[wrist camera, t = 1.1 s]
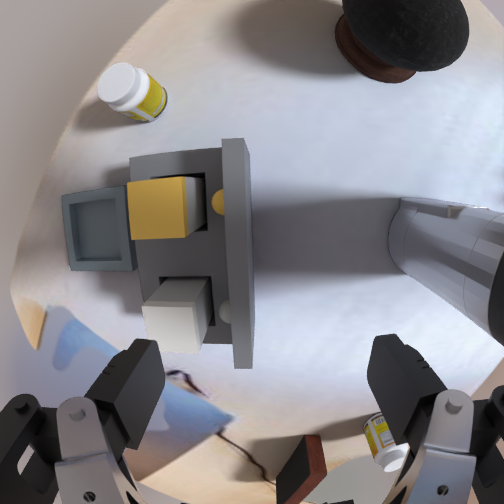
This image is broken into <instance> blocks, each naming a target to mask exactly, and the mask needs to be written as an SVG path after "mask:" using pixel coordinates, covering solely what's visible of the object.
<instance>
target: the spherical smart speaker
mask: <svg viewBox="0 0 504 504" xmlns="http://www.w3.org/2000/svg"><path fill="white" fill-rule="evenodd" d="M342 4H343V11H344V14H343V15H342V16H341V17H340V19H339V21H338V23H337V25H336V27H335V39H336V42H337V45H338V48H339V49H340V51H341V53H342V54H343V56H344V57H345V58H346V59H347V61H348V62H349V63H350V64H351V65H352V66H353V67H355V68H356V69H357V70H359V71H360V72H361V73H363V74H365V75H366V76H368V77H370V78H372V79H375V80H377V81H380V82H385V83H401V82H404V81H406V80H408V79H409V78H411V77H412V76H413V75H414V74H415V73H416V71H418V72H424V71H436V70H439V69H441V68H444V67H447V66H449V65H451V64H452V63H453V62H455V61H456V60H457V59H458V58H459V57H460V56H461V55H462V53H463V51H464V50H465V48H466V46H467V42H468V38H469V22H468V17H467V14H466V11H465V9H464V6H463V4H462V2H461V1H460V0H342Z"/></svg>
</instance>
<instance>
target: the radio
mask: <svg viewBox="0 0 504 504" xmlns="http://www.w3.org/2000/svg"><path fill="white" fill-rule="evenodd" d="M326 475H327V469H326V464H325V458H324V453H323V448H322V443H321V438H320V436H315V435H304V436H303V438H302V440H301V441H300V443H299V444H298V446H297V448H296V449H295V451H294V452H293V454H292V455H291V457H290V458H289V460H288V461H287V463H286V464H285V466H284V467H283V469H282V470H281V472H280V473H279V475H278V476H277V477H276V498H277V504H299V503H300V502H301V501H302V500H303V499H304V498H305V497H306V496H307V495H308V494H309V493H310V492H311V491H312V490H313V489H314V488H315V487H316V486H317V485H318V484H319V483H320V482H321V481H322V480H323V479H324V478H325V477H326ZM323 504H327V502H325V503H323Z"/></svg>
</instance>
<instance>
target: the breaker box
mask: <svg viewBox="0 0 504 504" xmlns="http://www.w3.org/2000/svg"><path fill="white" fill-rule="evenodd" d="M191 176H205V178H206V201H207V220H208V222H206V223H205V224H204V225H202V226H201V227H199V228H198V229H196V230H195V231H194V232H192V233H191V234H189V235H188V236H187V237H185V238H163V239H139V240H135V246H136V255H137V262H138V270H139V276H140V283H141V289H142V295H143V301H144V303H145V302H146V300H147V299H148V298H149V297H150V296H151V295H152V294H153V293H154V292H155V291H156V290H157V289H158V288H159V287H160V286H161V285H162V284H163V282H164V281H165V280H166V279H167V278H168V277H179V276H211V278H212V291H213V302H214V312H213V315H212V318H211V320H210V323H209V326H208V329H207V332H206V334H205V337H204V340H203V343H205V344H233V356H234V368H235V369H252V365H253V346H254V326H255V302H254V272H253V241H252V211H251V182H250V154H249V151H248V148H247V146H246V143H245V140H244V138H233V139H222V147H221V148H208V149H196V150H186V151H176V152H168V153H160V154H152V155H145V156H139V157H132V158H130V182H135V181H143V180H152V179H161V178H171V177H191Z"/></svg>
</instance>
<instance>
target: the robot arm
mask: <svg viewBox="0 0 504 504" xmlns="http://www.w3.org/2000/svg"><path fill="white" fill-rule="evenodd" d="M388 245H389V251H390V255H391V257H392V259H393V261H394V263H395V264H396V265H397V266H398V268H400V269H401V270H402V271H404V272H405V273H407V274H408V275H409V276H410V277H412V278H414V279H415V280H417V281H418V282H420V283H421V284H423V285H424V286H425V287H427V288H428V289H430V290H431V291H433V292H434V293H435V294H437V295H438V296H440V297H441V298H442V299H444V300H445V301H446V302H448V303H449V304H451V305H452V306H453V307H455V308H456V309H457V310H459V311H460V312H461V313H463V314H464V315H465V316H467V317H468V318H469V319H470V320H472V321H473V322H474V323H475V324H477V325H478V326H479V327H481V328H482V329H483V330H484V331H486V332H487V333H488V334H489V335H491V336H492V337H493V338H494V339H496V340H497V341H498V342H499V343H500V344H502V345H503V346H504V213H501V212H496V211H492V210H489V209H488V208H485V207H479V206H474V205H468V204H462V203H456V202H449V201H443V200H433V199H418V198H401V205H400V208H399V210H398V212H397V213H396V215H395V216H394V218H393V220H392V223H391V225H390V230H389V236H388ZM367 380H368V384H369V386H370V388H371V390H372V392H373V395H374V397H375V399H376V401H377V403H378V405H379V408H380V410H381V412H382V414H383V417H384V419H385V421H386V423H387V425H388V428H389V430H390V432H391V435H392V437H393V439H394V442H395V444H396V446H398V445H401V444H405V443H408V444H409V446H410V448H409V450H408V451H407V454H406V456H405V459H404V461H403V464H402V466H401V468H400V471H399V473H398V475H397V477H396V480H395V482H394V484H393V486H392V488H391V490H390V492H389V494H388V495H387V497H386V499H385V500H384V502H383V503H382V504H467V502H468V498H469V494H470V490H471V486H472V487H473V489H474V492H475V494H476V496H477V499H478V501H479V504H504V459H503V457H502V455H501V453H500V452H499V450H498V448H497V446H496V443H497V442H498V441H499V439H500V438H501V437H502V439H503V441H504V385H503V386H498V387H497V388H495V389H494V390H493V392H492V394H491V396H490V398H489V399H485V400H475V401H472V400H471V398H470V397H469V396H468V395H467V394H466V393H464V392H462V391H459V390H454V389H450V390H448V389H447V388H446V386H445V385H444V384H443V382H442V381H441V380H440V378H439V377H438V376H437V374H436V373H435V372H434V371H433V369H432V368H431V367H429V364H428V363H427V362H426V361H424V358H423V357H422V356H421V354H420V353H419V352H418V351H417V350H416V349H414V348H412V347H411V346H409V345H404V344H403V342H402V341H401V340H400V339H399V337H398V336H397V335H396V334H388V335H380V336H376V337H375V339H374V341H373V346H372V351H371V356H370V360H369V364H368V369H367ZM164 385H165V372H164V368H163V364H162V359H161V355H160V351H159V346H158V343H157V341H156V340H148V339H135V340H134V342H133V343H132V344H131V346H130V347H129V348H128V350H123V351H121V352H120V353H118V354H117V355H115V356H114V357H113V358H112V359H111V361H110V362H109V364H108V365H107V367H105V369H104V370H103V371H102V373H101V374H100V375H99V377H98V378H97V380H96V381H95V382H94V383H93V385H92V386H91V387H90V389H89V390H88V392H87V393H86V394H85V396H84V397H73V398H70V399H67V400H65V401H64V402H63V403H61V404H60V406H59V407H58V408H47V407H41V406H40V404H39V402H38V401H37V399H36V398H35V397H34V396H33V395H30V394H20V395H18V396H16V397H14V398H12V399H11V400H10V401H9V402H8V404H7V405H6V406H5V407H4V409H3V410H2V411H1V412H0V504H53V502H54V499H55V497H56V495H57V493H58V491H60V496H61V499H62V504H147V503H146V501H145V500H144V498H143V496H142V495H141V493H140V491H139V489H138V487H137V484H136V482H135V480H134V478H133V476H132V474H131V471H130V469H129V467H128V464H127V462H126V460H125V457H124V455H123V451H124V449H125V447H127V448H131V449H135V450H137V449H138V447H139V444H140V442H141V440H142V437H143V435H144V432H145V430H146V428H147V425H148V423H149V420H150V418H151V416H152V413H153V411H154V409H155V407H156V404H157V402H158V400H159V398H160V395H161V393H162V391H163V388H164ZM28 445H30V447H31V448H32V449H33V450H34V453H33V455H32V456H31V458H30V459H29V461H28V463H27V465H26V466H25V468H24V470H23V472H22V473H21V475H20V474H19V472H18V469H17V464H18V461H19V459H20V458H21V456H22V454H23V453H24V451H25V450H26V448H27V446H28ZM181 504H186V503H181ZM331 504H354V502H353V500H348V501H342V502H337V503H331Z"/></svg>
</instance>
